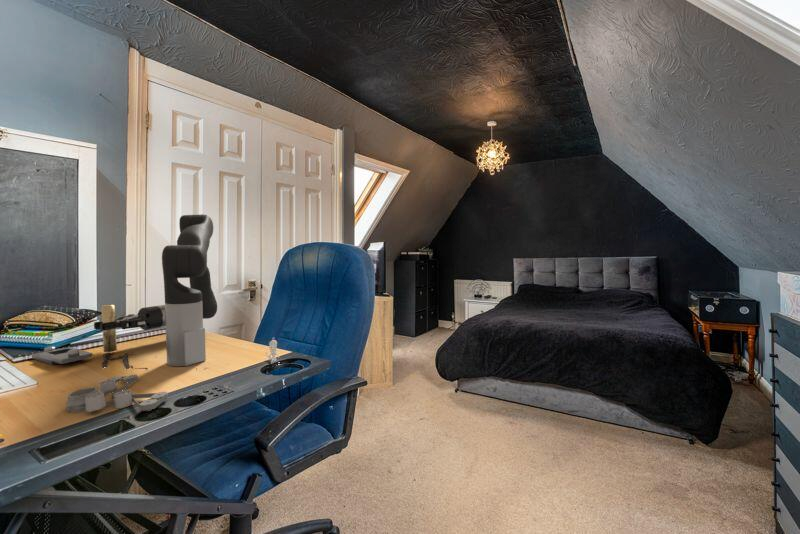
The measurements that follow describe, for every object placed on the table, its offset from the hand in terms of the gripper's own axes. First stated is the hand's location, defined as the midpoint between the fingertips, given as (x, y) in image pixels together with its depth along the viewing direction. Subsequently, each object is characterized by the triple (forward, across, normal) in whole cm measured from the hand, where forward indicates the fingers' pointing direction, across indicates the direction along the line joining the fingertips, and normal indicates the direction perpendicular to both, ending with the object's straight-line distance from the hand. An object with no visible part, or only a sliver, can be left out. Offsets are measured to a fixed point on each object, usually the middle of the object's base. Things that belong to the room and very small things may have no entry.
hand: (98, 326), depth 111 cm
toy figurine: (-21, +50, +10) cm, 54 cm away
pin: (-3, 0, +8) cm, 8 cm away
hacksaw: (0, +14, +10) cm, 17 cm away
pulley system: (+15, +39, +10) cm, 43 cm away
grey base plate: (+7, -5, +9) cm, 12 cm away
